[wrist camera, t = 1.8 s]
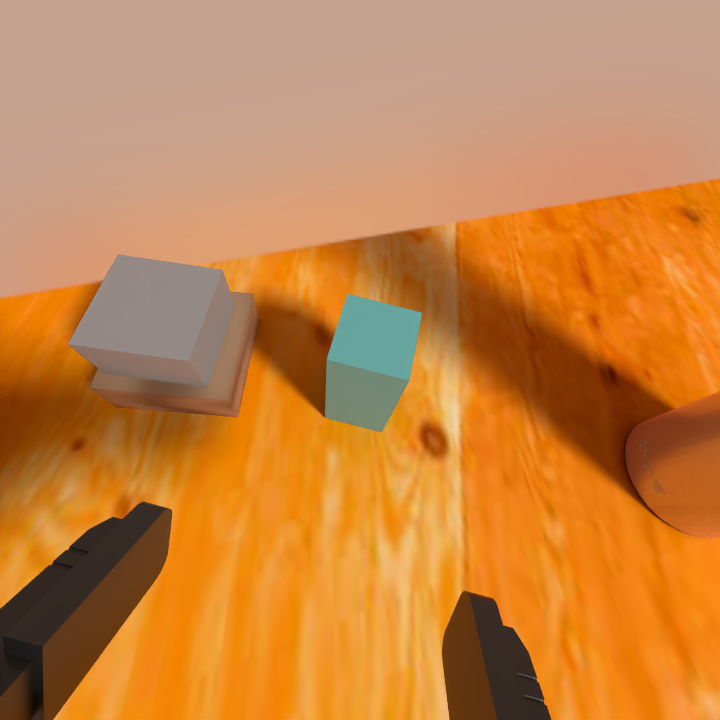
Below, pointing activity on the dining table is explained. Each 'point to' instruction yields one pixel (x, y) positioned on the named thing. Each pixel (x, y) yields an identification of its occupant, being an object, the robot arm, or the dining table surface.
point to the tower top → (156, 321)
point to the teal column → (369, 362)
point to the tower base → (188, 398)
